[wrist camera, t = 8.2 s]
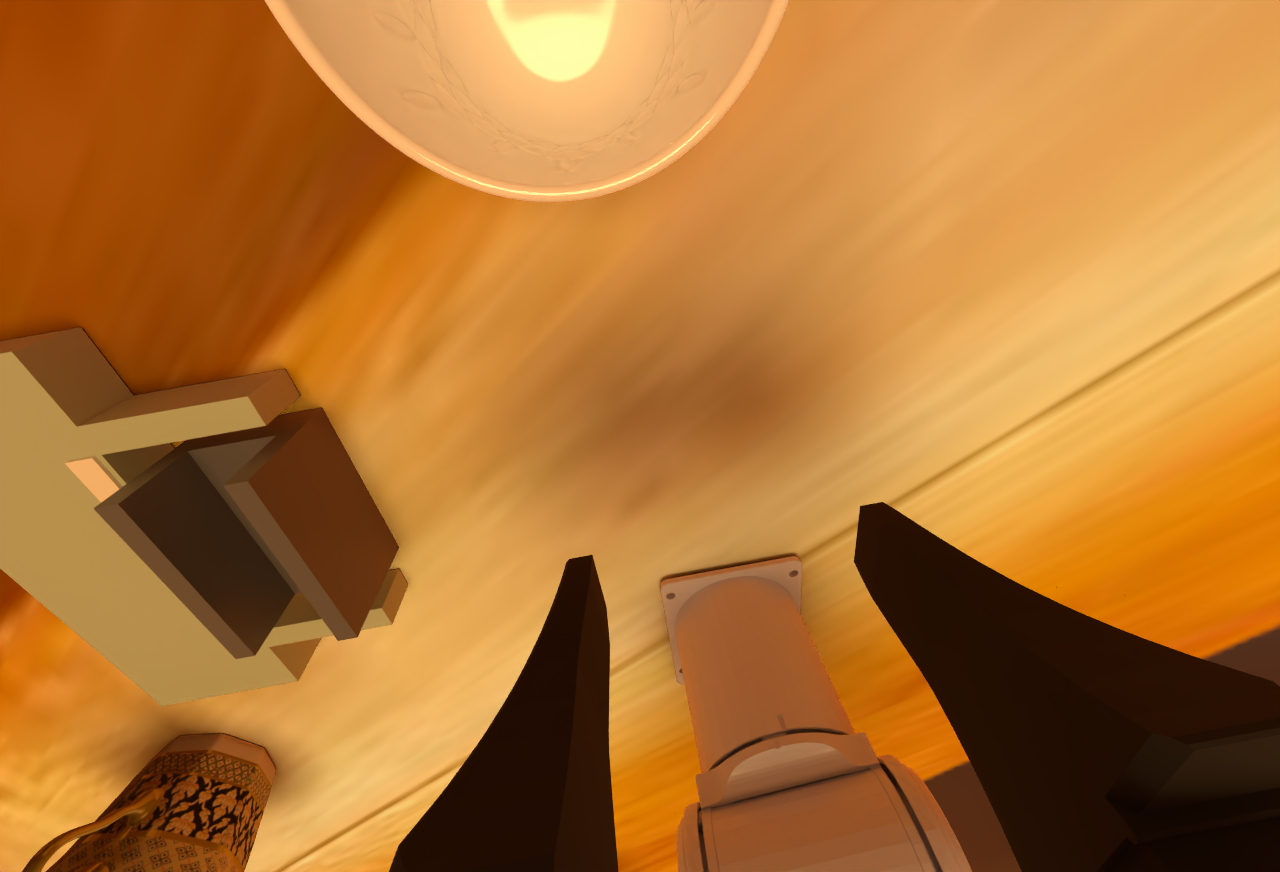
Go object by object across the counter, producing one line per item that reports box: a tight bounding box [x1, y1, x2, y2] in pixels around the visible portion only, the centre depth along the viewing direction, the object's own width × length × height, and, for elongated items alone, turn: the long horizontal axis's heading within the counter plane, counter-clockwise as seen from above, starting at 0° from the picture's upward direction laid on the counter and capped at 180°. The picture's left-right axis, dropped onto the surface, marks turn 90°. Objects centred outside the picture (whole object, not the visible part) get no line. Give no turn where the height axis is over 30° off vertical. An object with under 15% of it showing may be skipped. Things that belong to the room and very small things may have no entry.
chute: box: [93, 407, 399, 659], centre depth 20 cm, size 8×5×5 cm, turn 8°
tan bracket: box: [0, 327, 408, 706], centre depth 21 cm, size 18×13×3 cm
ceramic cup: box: [22, 733, 276, 872], centre depth 27 cm, size 13×10×10 cm
